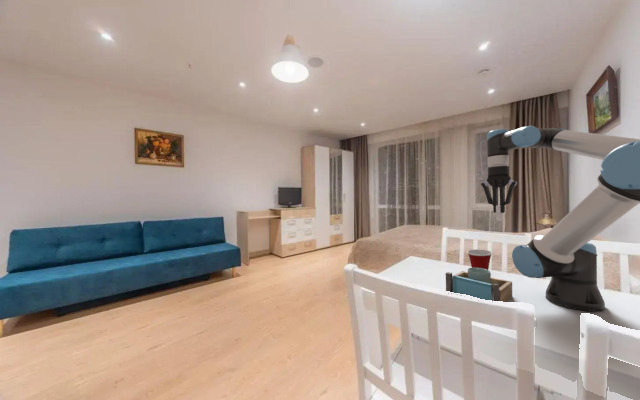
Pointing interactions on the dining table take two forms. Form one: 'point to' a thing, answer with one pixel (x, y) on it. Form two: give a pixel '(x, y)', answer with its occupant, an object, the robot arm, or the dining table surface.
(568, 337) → the dining table surface
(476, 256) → the plastic cup
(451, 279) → the wooden u-shaped tray
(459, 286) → the blue flat rectangular panel
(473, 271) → the cup
